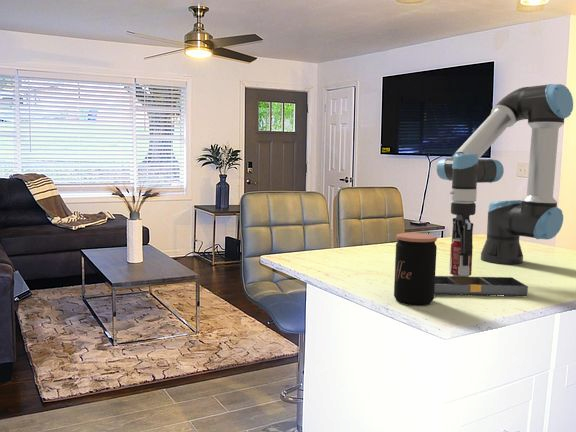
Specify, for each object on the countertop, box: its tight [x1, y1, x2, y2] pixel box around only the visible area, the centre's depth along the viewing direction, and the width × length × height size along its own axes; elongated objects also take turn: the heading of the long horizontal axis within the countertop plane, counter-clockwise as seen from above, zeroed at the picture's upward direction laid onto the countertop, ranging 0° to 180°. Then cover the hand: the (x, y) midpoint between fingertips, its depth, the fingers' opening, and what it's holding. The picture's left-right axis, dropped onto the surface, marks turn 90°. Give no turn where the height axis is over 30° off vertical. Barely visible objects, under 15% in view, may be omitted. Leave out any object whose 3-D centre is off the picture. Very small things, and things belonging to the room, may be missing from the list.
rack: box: [434, 275, 529, 297], centre depth 163 cm, size 30×12×3 cm, turn 90°
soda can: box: [449, 238, 474, 277], centre depth 179 cm, size 7×7×12 cm
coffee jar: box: [393, 232, 438, 307], centre depth 150 cm, size 11×11×18 cm
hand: (460, 272), depth 180 cm, fingers closed on soda can, 7 cm apart
